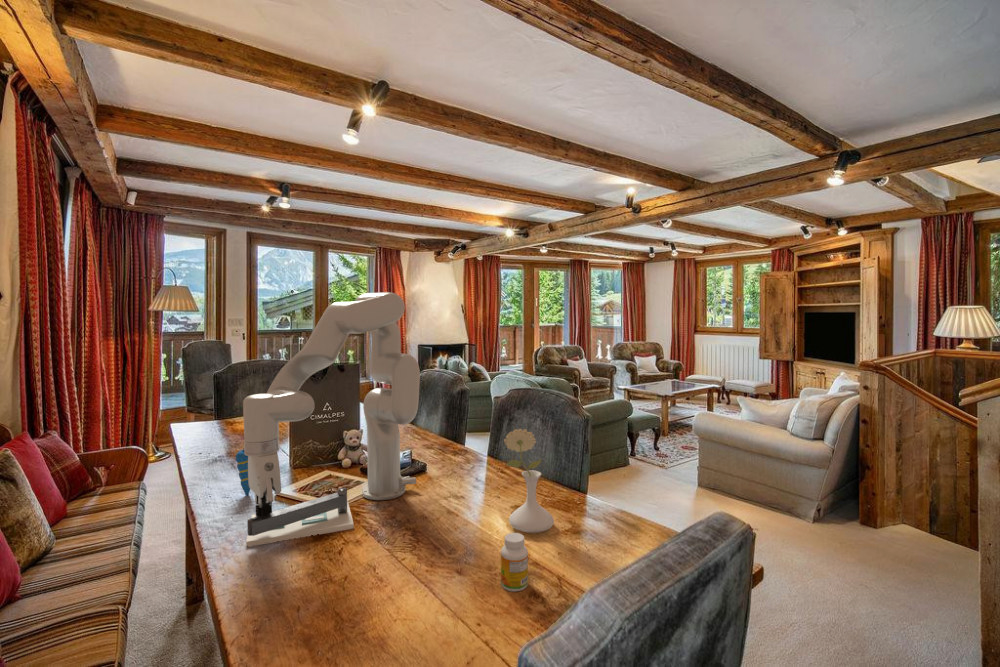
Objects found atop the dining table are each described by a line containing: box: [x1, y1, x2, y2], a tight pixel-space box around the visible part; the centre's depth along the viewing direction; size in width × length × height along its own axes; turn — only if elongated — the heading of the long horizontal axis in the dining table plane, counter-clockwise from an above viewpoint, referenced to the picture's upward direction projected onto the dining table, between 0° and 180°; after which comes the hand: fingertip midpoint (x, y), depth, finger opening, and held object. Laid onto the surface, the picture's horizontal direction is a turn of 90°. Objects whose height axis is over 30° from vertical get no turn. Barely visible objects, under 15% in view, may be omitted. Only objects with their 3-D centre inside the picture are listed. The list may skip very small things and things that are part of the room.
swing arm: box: [246, 487, 348, 536], centre depth 118 cm, size 25×3×6 cm, turn 137°
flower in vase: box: [503, 428, 555, 534], centre depth 121 cm, size 13×11×25 cm
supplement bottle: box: [500, 532, 529, 593], centre depth 96 cm, size 5×5×10 cm
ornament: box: [235, 447, 251, 496], centre depth 141 cm, size 5×5×15 cm
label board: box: [245, 500, 355, 547], centre depth 123 cm, size 24×16×2 cm, turn 113°
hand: (264, 520), depth 115 cm, fingers closed
